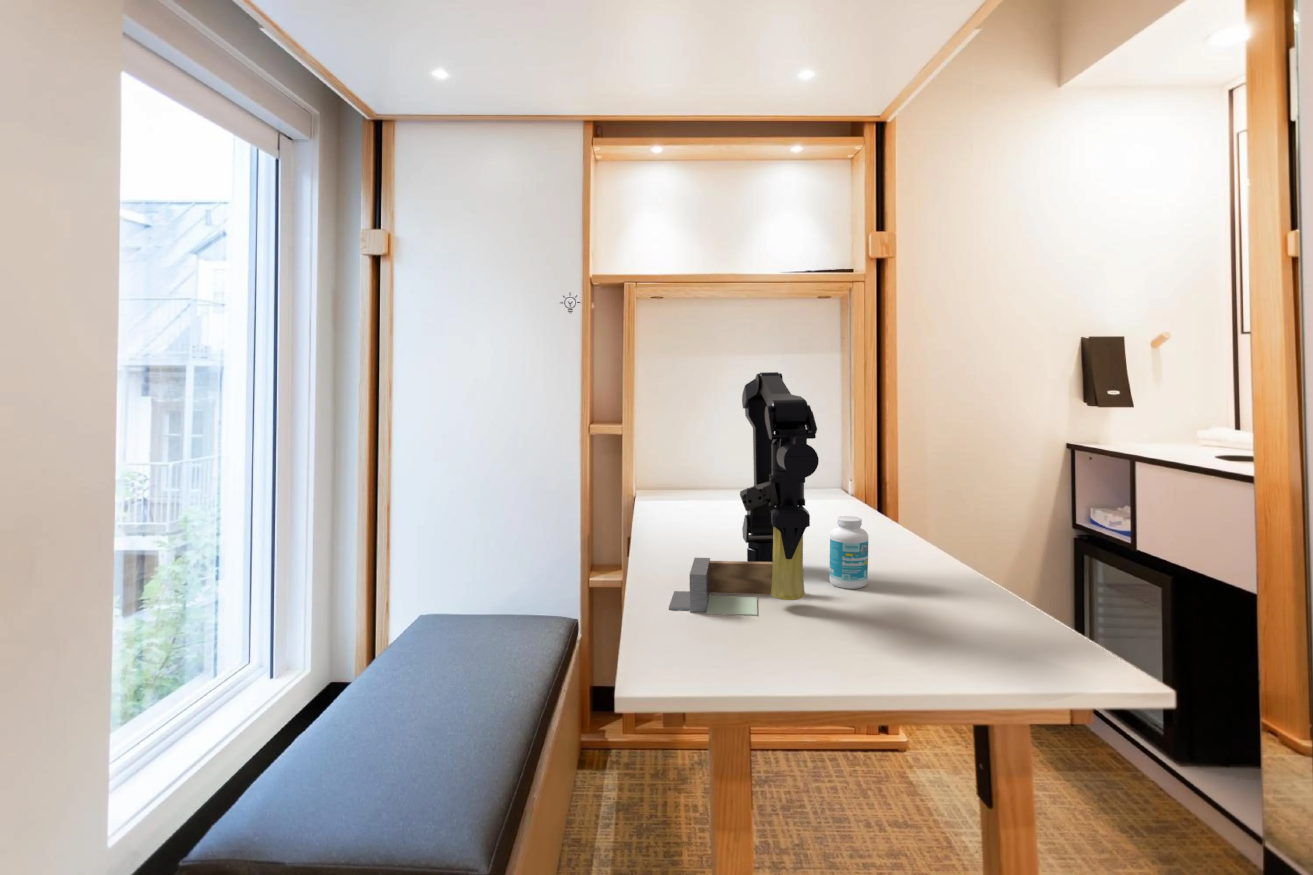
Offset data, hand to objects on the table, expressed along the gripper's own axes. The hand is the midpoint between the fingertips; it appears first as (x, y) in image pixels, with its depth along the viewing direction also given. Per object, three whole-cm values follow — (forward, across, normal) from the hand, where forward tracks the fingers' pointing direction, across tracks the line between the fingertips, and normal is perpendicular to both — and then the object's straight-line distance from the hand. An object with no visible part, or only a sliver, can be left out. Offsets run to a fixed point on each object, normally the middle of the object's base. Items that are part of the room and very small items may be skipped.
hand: (787, 554), depth 121 cm
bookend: (+10, -2, -18) cm, 21 cm away
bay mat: (+10, 0, -10) cm, 14 cm away
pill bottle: (+10, -14, +13) cm, 22 cm away
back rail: (+10, -8, -7) cm, 14 cm away
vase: (+8, 0, 0) cm, 8 cm away
